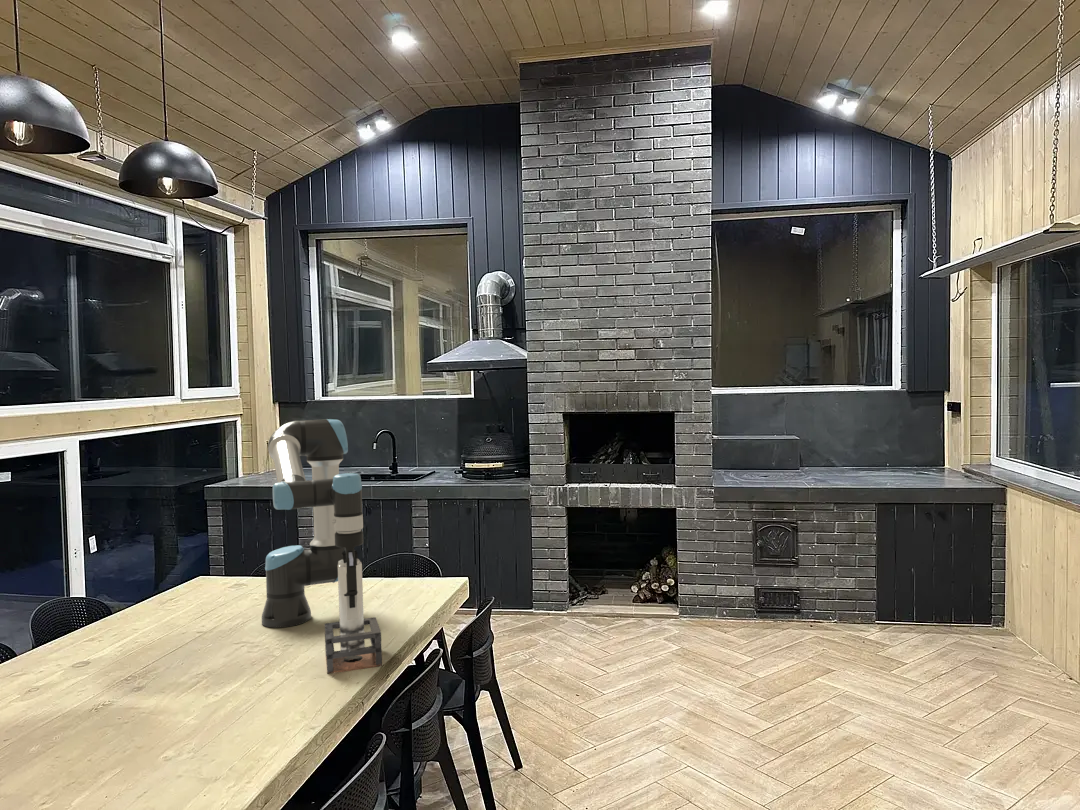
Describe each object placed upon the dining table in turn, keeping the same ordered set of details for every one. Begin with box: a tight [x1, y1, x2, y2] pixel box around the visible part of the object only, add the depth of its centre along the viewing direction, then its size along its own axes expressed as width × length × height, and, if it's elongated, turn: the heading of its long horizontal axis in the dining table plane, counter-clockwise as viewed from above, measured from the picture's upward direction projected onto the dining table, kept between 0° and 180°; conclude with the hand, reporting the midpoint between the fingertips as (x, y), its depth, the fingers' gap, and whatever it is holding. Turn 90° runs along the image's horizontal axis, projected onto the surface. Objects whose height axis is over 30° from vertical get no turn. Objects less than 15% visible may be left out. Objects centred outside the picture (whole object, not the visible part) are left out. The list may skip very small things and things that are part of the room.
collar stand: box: [324, 616, 383, 675], centre depth 194 cm, size 14×14×9 cm
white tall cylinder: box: [337, 558, 366, 650], centre depth 193 cm, size 6×6×25 cm
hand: (351, 615), depth 193 cm, fingers closed on white tall cylinder, 5 cm apart
